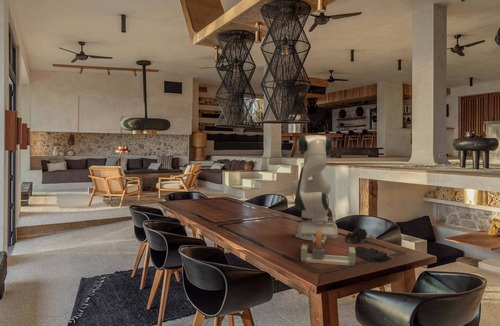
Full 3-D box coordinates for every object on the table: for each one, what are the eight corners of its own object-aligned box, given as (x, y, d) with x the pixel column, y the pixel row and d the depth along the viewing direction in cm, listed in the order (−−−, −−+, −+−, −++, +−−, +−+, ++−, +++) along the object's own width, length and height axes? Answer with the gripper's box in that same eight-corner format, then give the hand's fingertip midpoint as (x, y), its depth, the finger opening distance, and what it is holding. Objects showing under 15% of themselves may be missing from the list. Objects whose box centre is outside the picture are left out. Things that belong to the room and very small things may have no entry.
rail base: (302, 256, 210) (302, 243, 210) (353, 260, 204) (354, 247, 204) (300, 261, 200) (301, 248, 200) (355, 266, 194) (355, 252, 194)
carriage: (313, 251, 208) (313, 228, 207) (324, 252, 206) (324, 229, 206) (312, 255, 200) (313, 231, 199) (323, 256, 199) (324, 232, 198)
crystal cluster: (340, 242, 244) (341, 227, 242) (350, 236, 254) (351, 222, 252) (360, 248, 235) (361, 232, 233) (369, 242, 245) (370, 227, 243)
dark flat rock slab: (364, 250, 226) (364, 242, 226) (393, 260, 206) (394, 252, 206) (344, 253, 219) (345, 245, 219) (372, 264, 199) (373, 255, 199)
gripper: (300, 217, 211) (299, 238, 202) (338, 219, 207) (338, 241, 198) (301, 223, 216) (299, 244, 207) (337, 225, 211) (337, 247, 202)
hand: (318, 243), depth 202 cm, fingers closed on carriage, 3 cm apart
